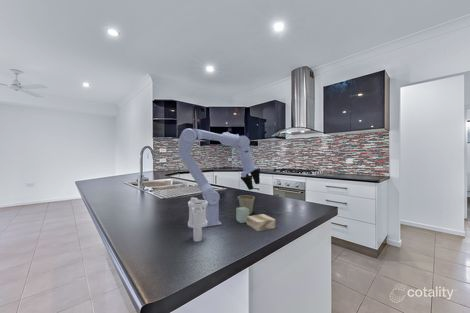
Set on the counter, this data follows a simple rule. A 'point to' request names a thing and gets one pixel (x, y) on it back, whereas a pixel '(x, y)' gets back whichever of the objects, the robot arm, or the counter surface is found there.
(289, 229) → the counter surface
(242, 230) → the counter surface
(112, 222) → the counter surface
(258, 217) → the beech base
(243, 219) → the sage block
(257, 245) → the counter surface
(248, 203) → the flower pot
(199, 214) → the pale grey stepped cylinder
